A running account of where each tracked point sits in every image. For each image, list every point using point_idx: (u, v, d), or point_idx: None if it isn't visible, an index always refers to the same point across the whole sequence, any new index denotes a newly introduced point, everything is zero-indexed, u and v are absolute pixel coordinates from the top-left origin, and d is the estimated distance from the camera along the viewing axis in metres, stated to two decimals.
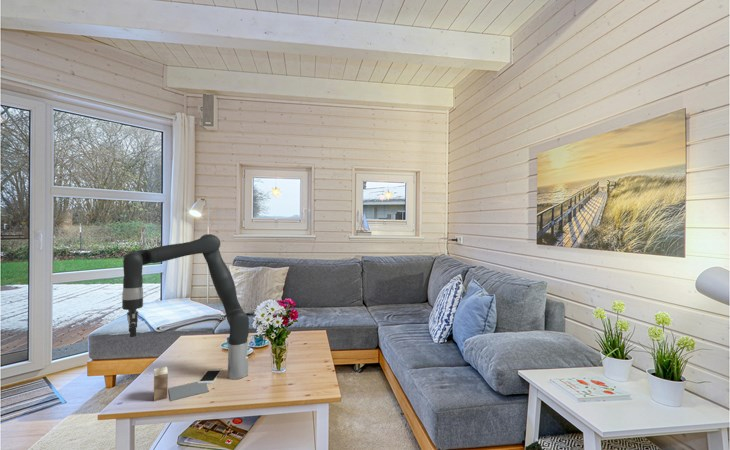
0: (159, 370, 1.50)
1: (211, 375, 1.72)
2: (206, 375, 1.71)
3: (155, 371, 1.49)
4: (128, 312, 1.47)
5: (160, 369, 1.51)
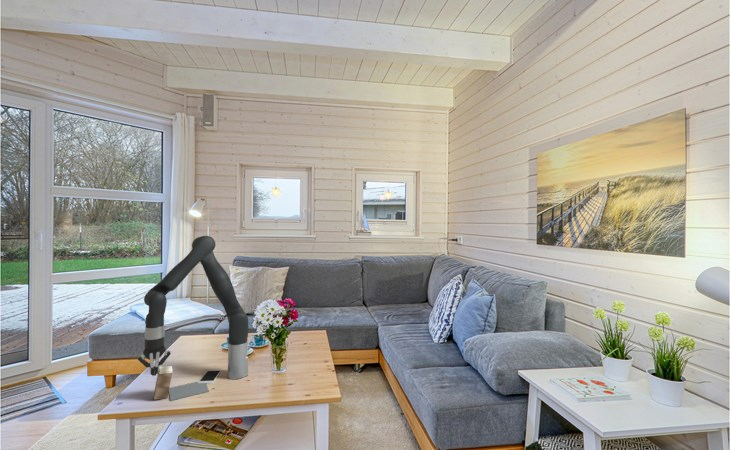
0: (164, 368, 1.51)
1: (211, 375, 1.72)
2: (206, 375, 1.71)
3: (160, 369, 1.50)
4: (150, 352, 1.47)
5: (165, 367, 1.52)
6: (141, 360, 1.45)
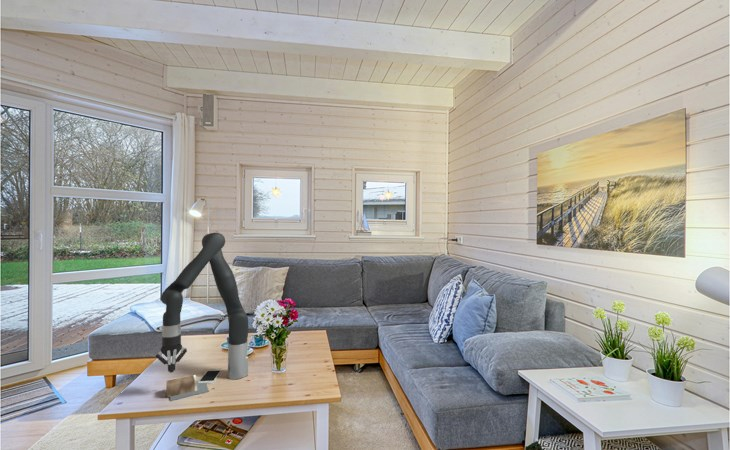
0: None
1: (211, 375, 1.72)
2: (206, 375, 1.71)
3: (196, 378, 1.58)
4: (168, 350, 1.51)
5: None
6: (159, 357, 1.49)
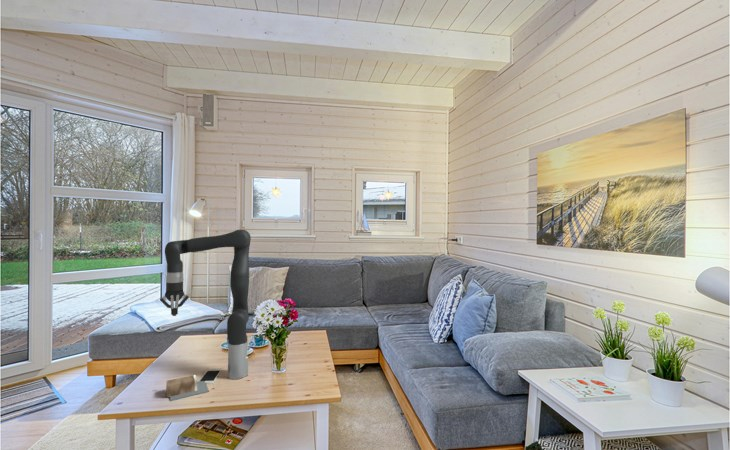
0: None
1: (211, 375, 1.72)
2: (206, 375, 1.71)
3: (196, 378, 1.58)
4: (171, 295, 1.65)
5: None
6: (163, 301, 1.63)
